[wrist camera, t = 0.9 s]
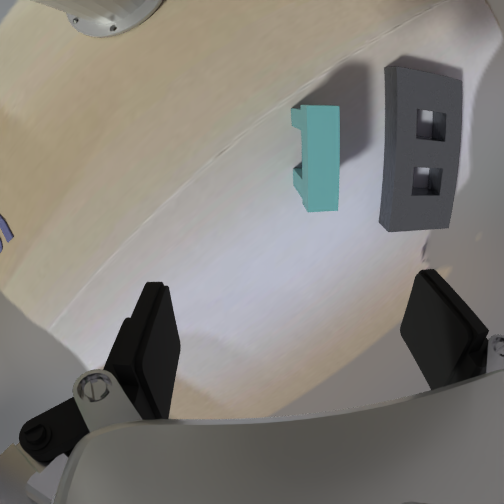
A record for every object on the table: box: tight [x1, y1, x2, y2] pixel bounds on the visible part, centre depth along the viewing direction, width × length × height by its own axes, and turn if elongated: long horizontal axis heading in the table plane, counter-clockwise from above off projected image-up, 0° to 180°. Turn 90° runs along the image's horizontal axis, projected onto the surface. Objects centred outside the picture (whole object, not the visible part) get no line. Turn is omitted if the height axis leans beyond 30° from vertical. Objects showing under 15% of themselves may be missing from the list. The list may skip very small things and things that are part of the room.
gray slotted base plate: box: [379, 66, 462, 232], centre depth 32 cm, size 20×10×3 cm, turn 4°
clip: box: [291, 105, 340, 212], centre depth 30 cm, size 10×3×8 cm, turn 4°
